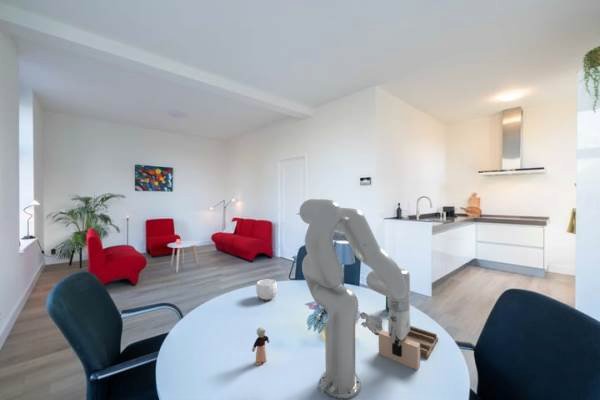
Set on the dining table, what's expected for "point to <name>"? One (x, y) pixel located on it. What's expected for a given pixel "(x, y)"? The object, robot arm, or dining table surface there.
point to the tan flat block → (408, 350)
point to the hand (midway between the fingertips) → (398, 352)
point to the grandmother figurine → (260, 346)
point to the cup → (266, 289)
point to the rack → (423, 340)
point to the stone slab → (372, 323)
